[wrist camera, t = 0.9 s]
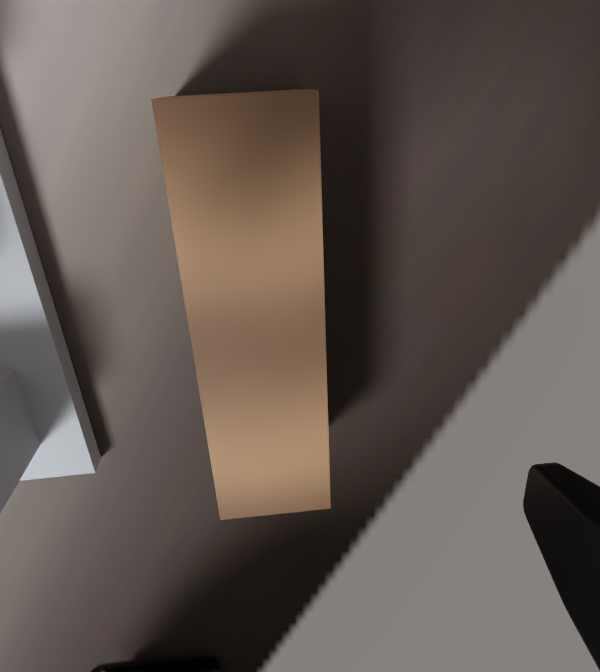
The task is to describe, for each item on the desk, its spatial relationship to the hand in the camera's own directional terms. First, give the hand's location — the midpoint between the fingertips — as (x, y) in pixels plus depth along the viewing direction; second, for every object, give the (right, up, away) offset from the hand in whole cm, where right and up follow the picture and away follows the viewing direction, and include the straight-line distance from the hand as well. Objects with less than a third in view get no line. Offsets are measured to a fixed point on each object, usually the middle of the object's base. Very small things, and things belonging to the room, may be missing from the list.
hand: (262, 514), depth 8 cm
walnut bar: (-1, +4, +9) cm, 10 cm away
